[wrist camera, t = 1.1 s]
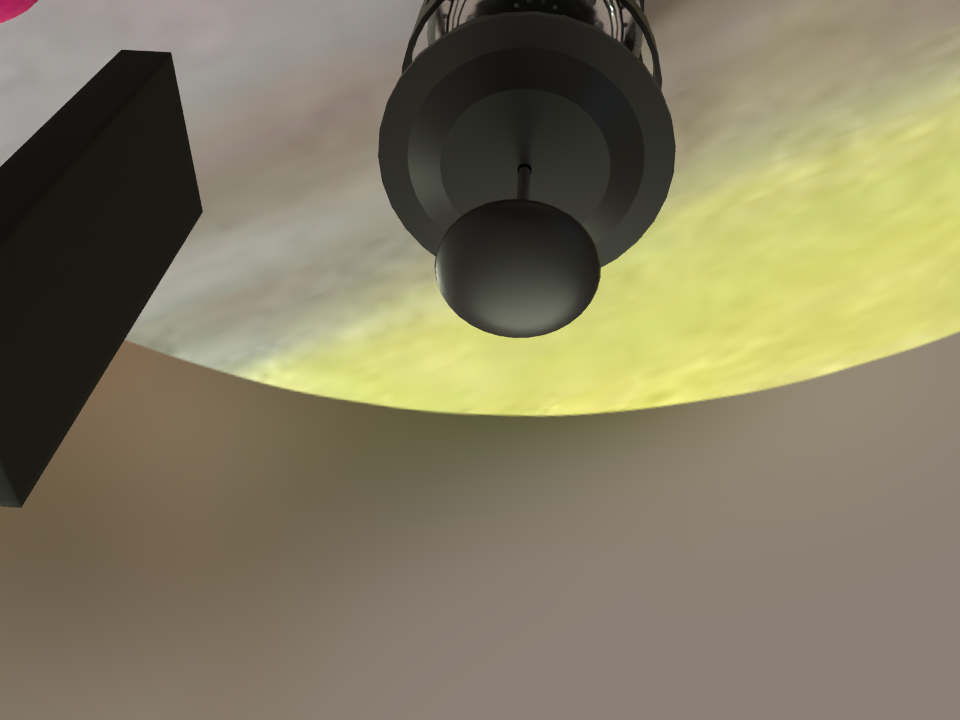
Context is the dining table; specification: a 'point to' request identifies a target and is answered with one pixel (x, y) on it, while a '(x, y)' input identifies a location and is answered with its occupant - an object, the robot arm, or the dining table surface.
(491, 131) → the french press
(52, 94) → the dining table surface
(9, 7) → the pepper mill
